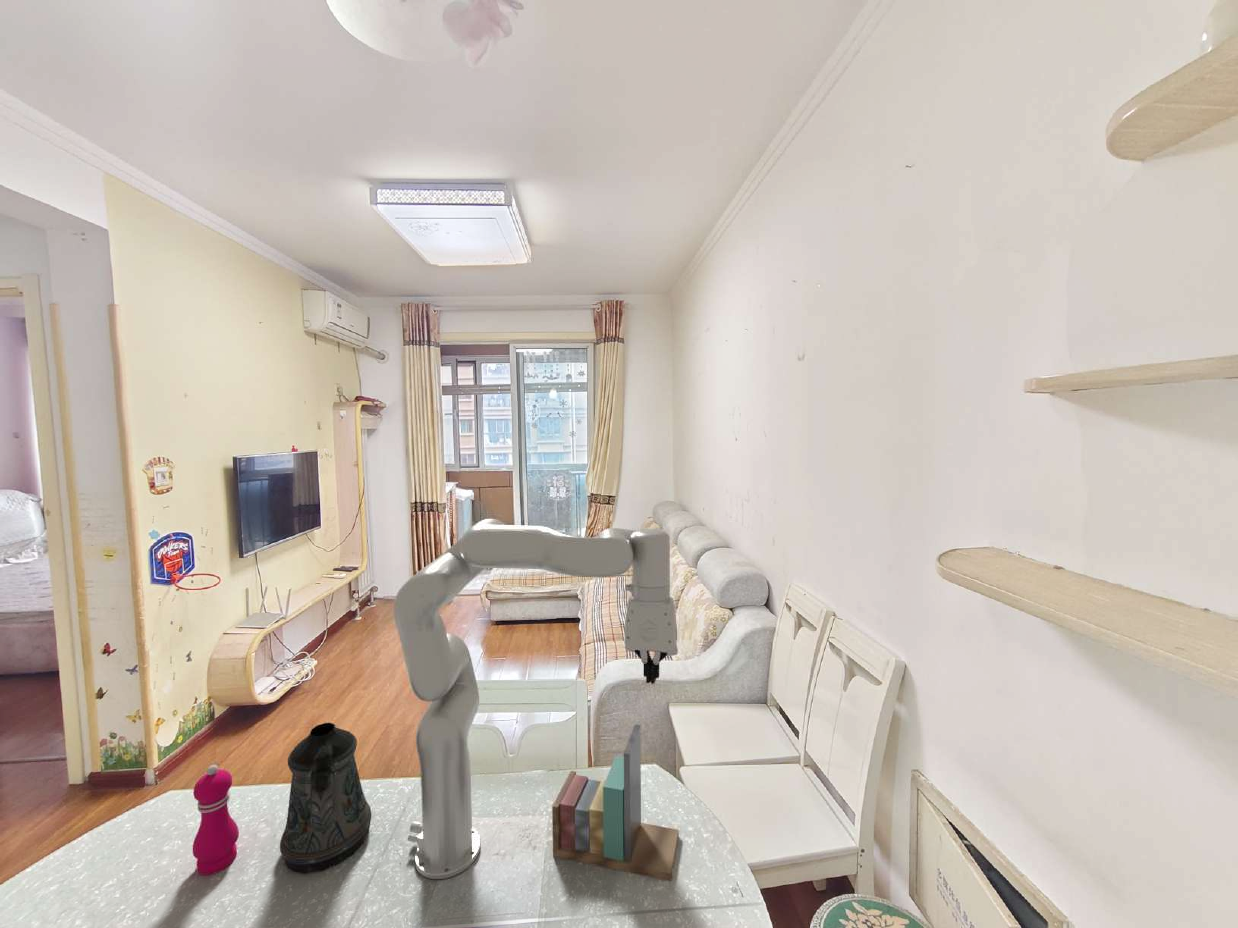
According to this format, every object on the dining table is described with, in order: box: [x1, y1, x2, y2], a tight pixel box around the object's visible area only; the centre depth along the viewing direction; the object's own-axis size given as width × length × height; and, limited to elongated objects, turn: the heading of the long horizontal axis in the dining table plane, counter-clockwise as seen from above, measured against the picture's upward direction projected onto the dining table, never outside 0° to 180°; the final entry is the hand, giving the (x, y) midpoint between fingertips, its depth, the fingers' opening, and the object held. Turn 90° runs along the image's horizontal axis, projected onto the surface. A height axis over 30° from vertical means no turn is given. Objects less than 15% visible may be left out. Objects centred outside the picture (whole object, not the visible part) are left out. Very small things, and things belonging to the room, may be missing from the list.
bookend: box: [623, 724, 642, 862], centre depth 102 cm, size 1×10×22 cm, turn 166°
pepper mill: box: [192, 764, 240, 876], centre depth 100 cm, size 7×7×20 cm
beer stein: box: [279, 722, 372, 875], centre depth 104 cm, size 16×19×25 cm
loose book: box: [603, 755, 625, 861], centre depth 103 cm, size 4×10×14 cm, turn 166°
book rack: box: [551, 770, 680, 882], centre depth 103 cm, size 24×11×10 cm, turn 76°
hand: (651, 680), depth 102 cm, fingers closed
